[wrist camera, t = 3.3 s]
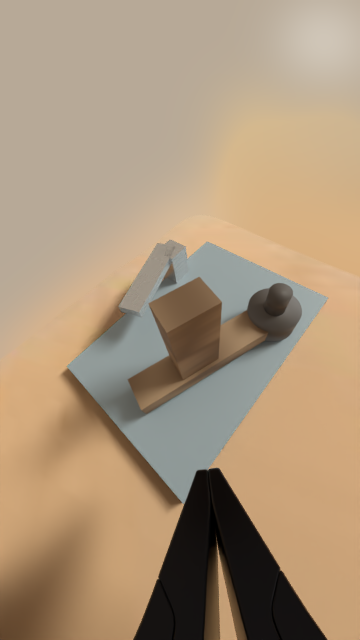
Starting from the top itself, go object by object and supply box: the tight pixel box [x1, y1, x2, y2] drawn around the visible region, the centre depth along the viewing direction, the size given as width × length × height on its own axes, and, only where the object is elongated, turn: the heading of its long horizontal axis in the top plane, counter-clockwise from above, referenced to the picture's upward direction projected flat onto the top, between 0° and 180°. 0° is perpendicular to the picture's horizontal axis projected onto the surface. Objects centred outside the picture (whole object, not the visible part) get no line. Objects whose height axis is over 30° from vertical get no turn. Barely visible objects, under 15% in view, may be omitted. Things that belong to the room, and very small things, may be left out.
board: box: [67, 242, 328, 504], centre depth 21 cm, size 20×14×1 cm
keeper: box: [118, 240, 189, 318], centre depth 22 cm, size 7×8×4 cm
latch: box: [127, 277, 302, 414], centre depth 15 cm, size 14×4×8 cm, turn 120°
